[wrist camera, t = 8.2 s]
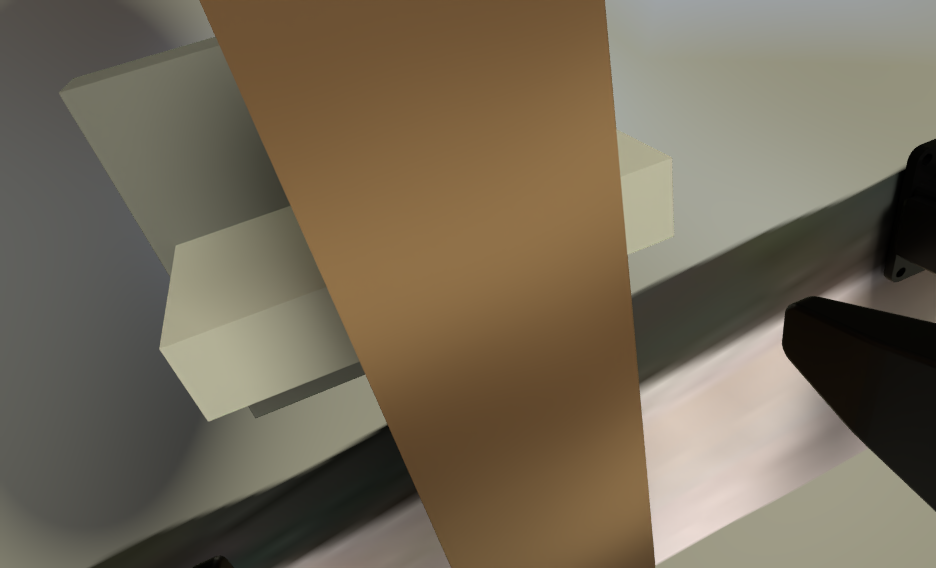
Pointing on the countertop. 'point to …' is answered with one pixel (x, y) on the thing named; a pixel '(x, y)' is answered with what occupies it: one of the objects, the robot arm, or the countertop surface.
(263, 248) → the ridge stand
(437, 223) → the walnut beam
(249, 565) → the countertop surface
